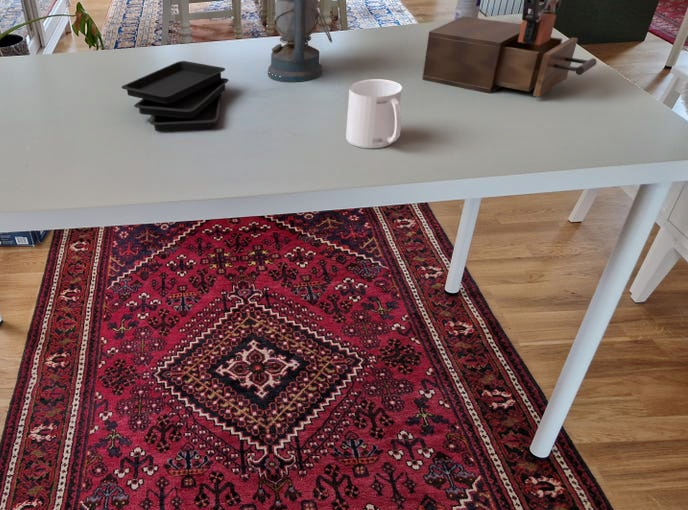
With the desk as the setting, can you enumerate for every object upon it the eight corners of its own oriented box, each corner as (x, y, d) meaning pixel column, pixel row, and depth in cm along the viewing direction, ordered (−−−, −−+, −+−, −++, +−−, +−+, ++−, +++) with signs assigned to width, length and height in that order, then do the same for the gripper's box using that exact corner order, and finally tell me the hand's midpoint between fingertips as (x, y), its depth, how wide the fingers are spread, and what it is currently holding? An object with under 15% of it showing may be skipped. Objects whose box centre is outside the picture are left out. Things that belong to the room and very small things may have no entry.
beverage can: (477, 35, 163) (490, -33, 153) (455, 37, 163) (467, -31, 153) (470, 29, 167) (482, -37, 157) (449, 31, 167) (459, -35, 157)
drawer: (595, 84, 129) (608, 42, 124) (568, 102, 123) (581, 59, 118) (499, 67, 141) (507, 28, 136) (470, 83, 135) (477, 43, 130)
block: (550, 39, 128) (556, 14, 125) (539, 45, 125) (546, 20, 122) (527, 36, 130) (533, 12, 127) (517, 42, 128) (523, 17, 125)
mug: (338, 134, 122) (341, 83, 116) (381, 126, 123) (387, 76, 117) (365, 158, 113) (370, 105, 107) (412, 150, 114) (419, 97, 108)
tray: (241, 127, 128) (240, 101, 125) (126, 140, 127) (121, 114, 124) (223, 80, 151) (221, 56, 147) (125, 91, 150) (121, 67, 146)
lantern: (264, 62, 158) (263, -84, 139) (322, 58, 158) (329, -89, 138) (271, 88, 144) (270, -71, 124) (335, 84, 143) (344, -77, 123)
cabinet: (521, 74, 139) (533, 25, 133) (489, 93, 132) (500, 42, 126) (454, 62, 148) (462, 16, 142) (422, 79, 141) (429, 31, 135)
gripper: (562, -54, 111) (536, 51, 122) (596, -68, 118) (569, 33, 129) (520, -56, 115) (499, 46, 126) (555, -70, 122) (532, 28, 133)
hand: (534, 39), depth 128 cm, fingers closed on block, 4 cm apart
